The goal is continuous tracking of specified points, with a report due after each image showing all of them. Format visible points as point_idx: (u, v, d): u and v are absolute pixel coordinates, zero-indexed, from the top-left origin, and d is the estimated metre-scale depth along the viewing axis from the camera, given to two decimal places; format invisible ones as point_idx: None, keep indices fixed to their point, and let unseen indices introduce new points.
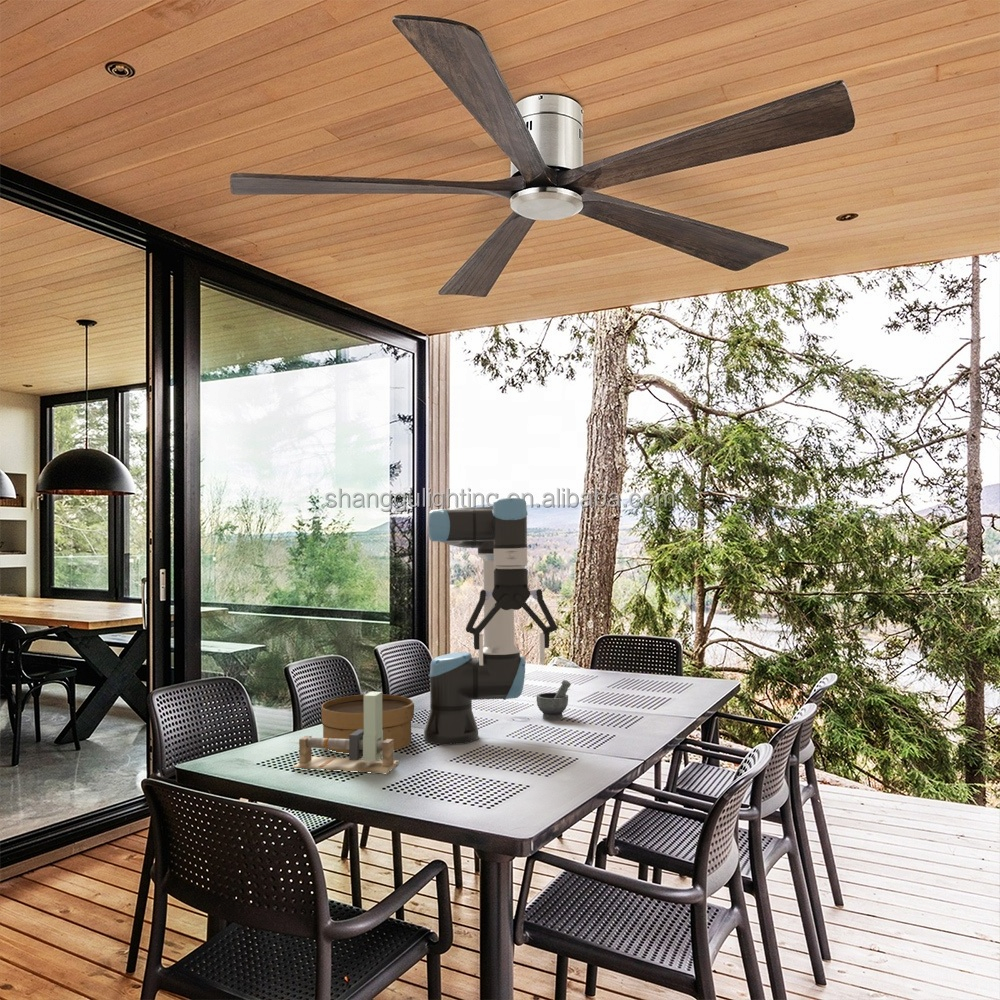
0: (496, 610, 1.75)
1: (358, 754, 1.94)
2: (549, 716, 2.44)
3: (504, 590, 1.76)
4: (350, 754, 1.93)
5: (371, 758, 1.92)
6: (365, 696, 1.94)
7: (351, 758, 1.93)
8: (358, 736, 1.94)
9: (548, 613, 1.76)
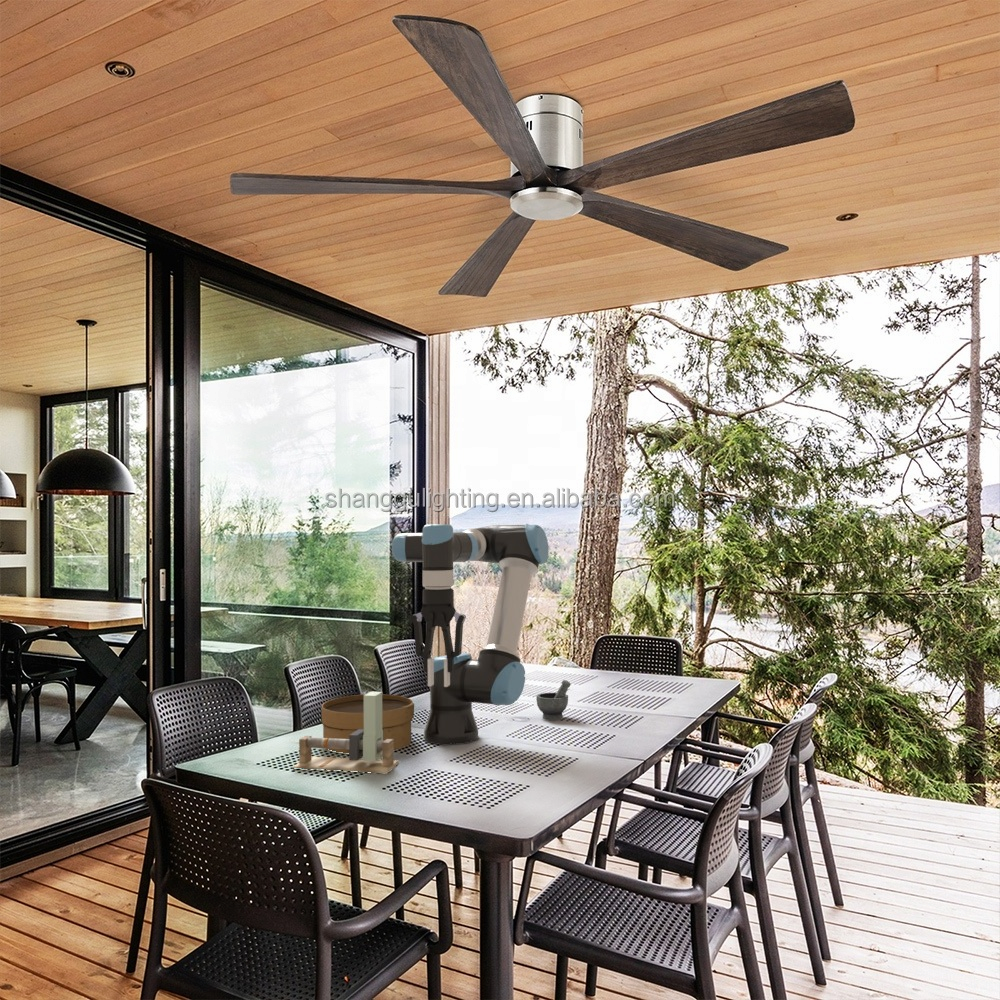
0: None
1: (358, 754, 1.94)
2: (549, 716, 2.44)
3: None
4: (350, 754, 1.93)
5: (371, 758, 1.92)
6: (365, 696, 1.94)
7: (351, 758, 1.93)
8: (358, 736, 1.94)
9: None
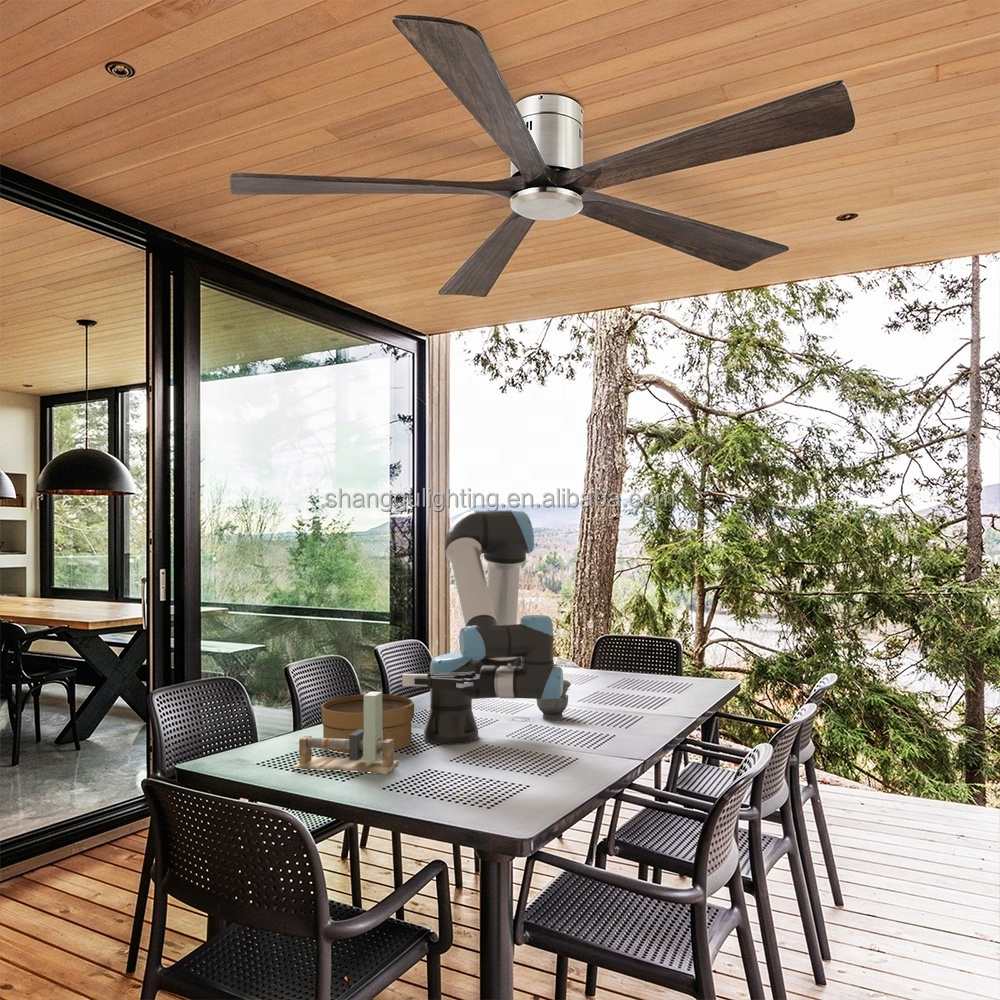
0: (458, 673, 1.93)
1: (358, 754, 1.94)
2: (549, 716, 2.44)
3: None
4: (350, 754, 1.93)
5: (371, 758, 1.92)
6: (365, 696, 1.94)
7: (351, 758, 1.93)
8: (358, 736, 1.94)
9: (442, 678, 1.89)
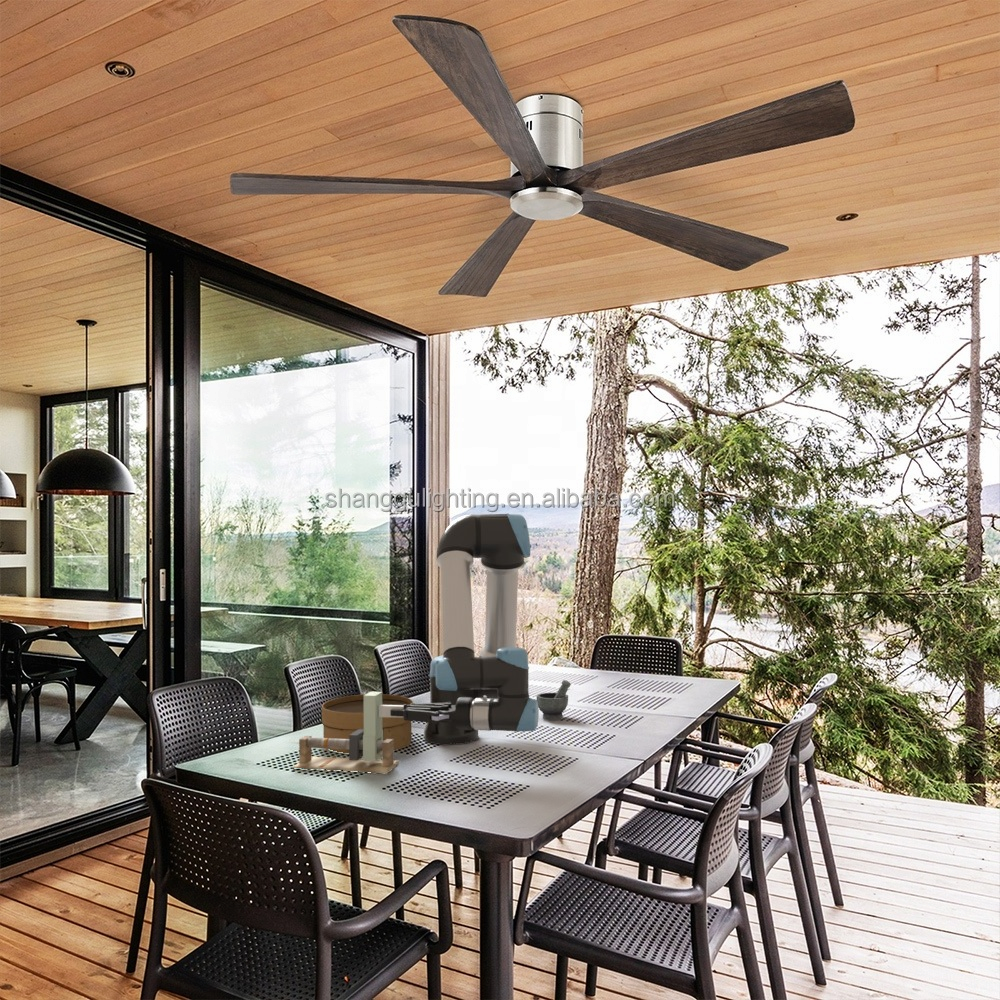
0: (434, 705, 1.94)
1: (358, 754, 1.94)
2: (549, 716, 2.44)
3: None
4: (350, 754, 1.93)
5: (371, 758, 1.92)
6: (365, 696, 1.94)
7: (351, 758, 1.93)
8: (358, 736, 1.94)
9: (418, 710, 1.89)
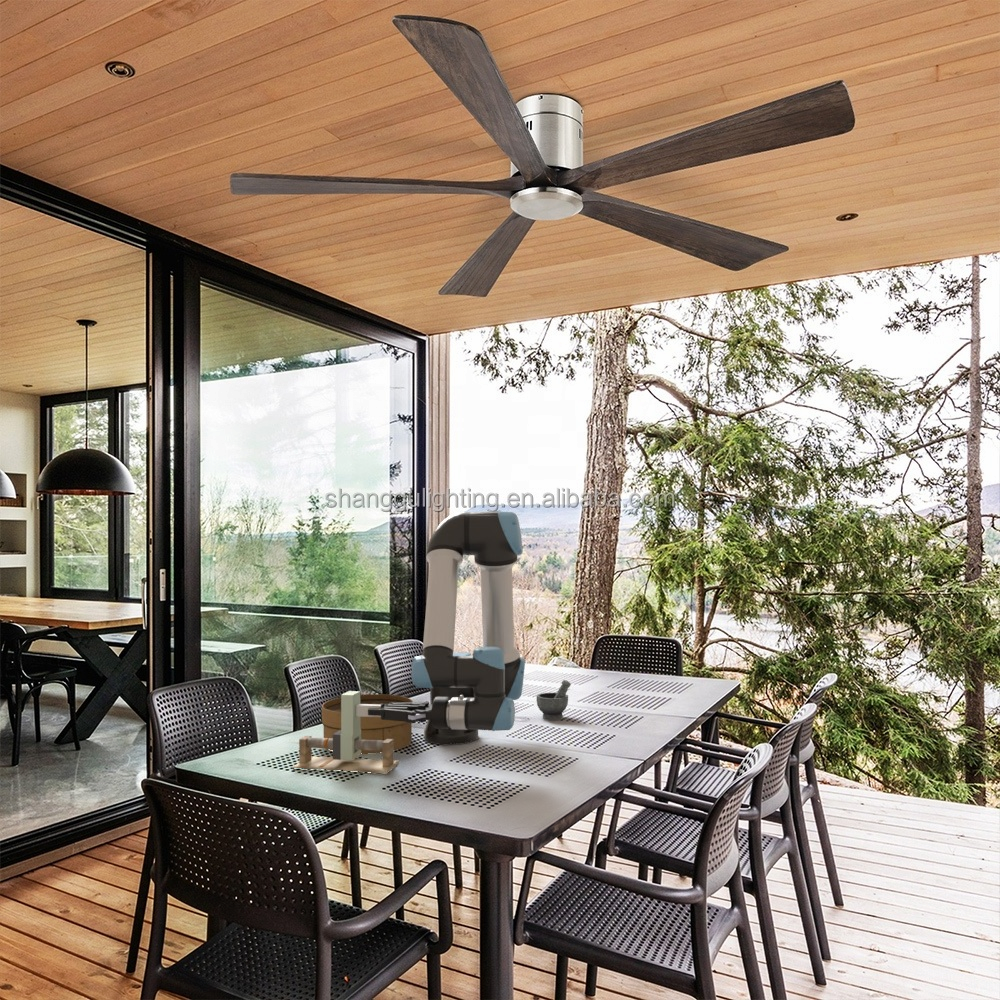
0: (411, 704, 1.95)
1: None
2: (549, 716, 2.44)
3: None
4: (333, 753, 1.94)
5: (349, 757, 1.93)
6: (343, 695, 1.95)
7: (334, 757, 1.94)
8: None
9: (395, 710, 1.90)
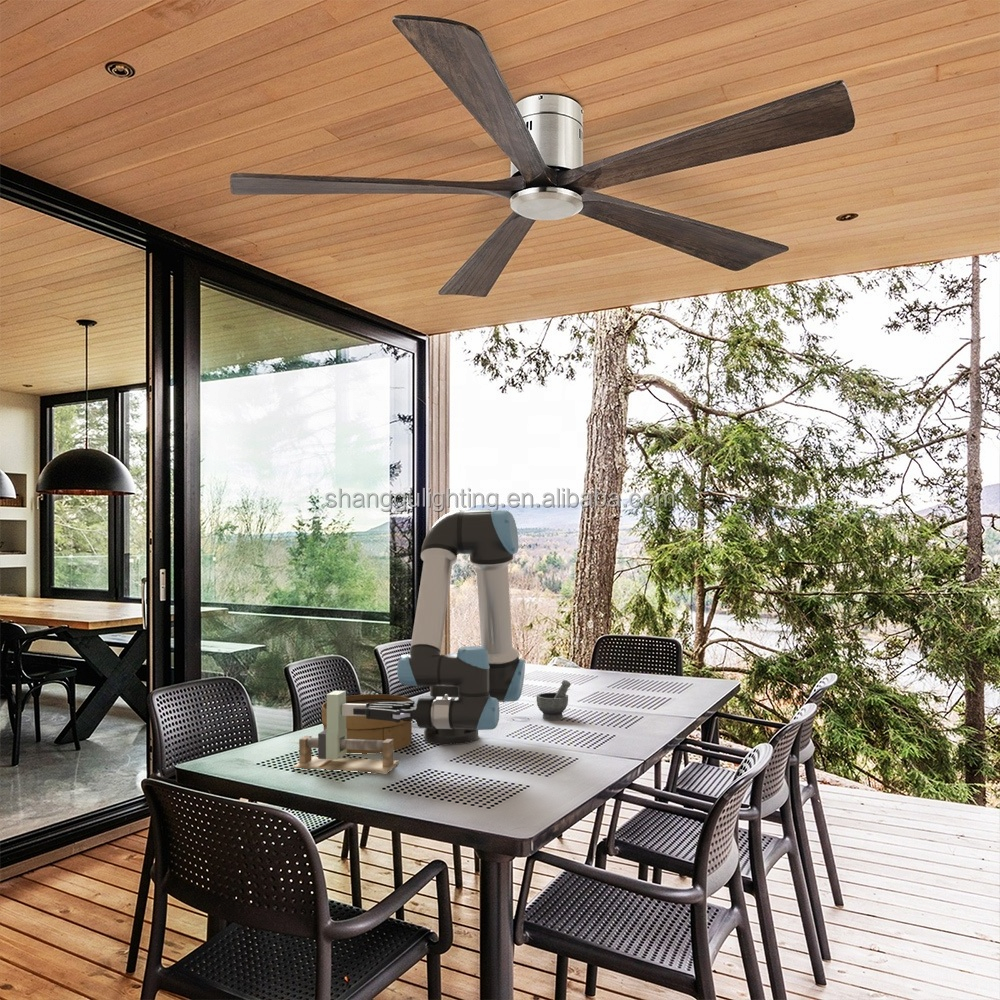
0: (396, 703, 1.96)
1: None
2: (549, 716, 2.44)
3: None
4: (319, 753, 1.95)
5: (334, 757, 1.94)
6: (328, 695, 1.96)
7: (320, 757, 1.95)
8: None
9: (380, 709, 1.91)
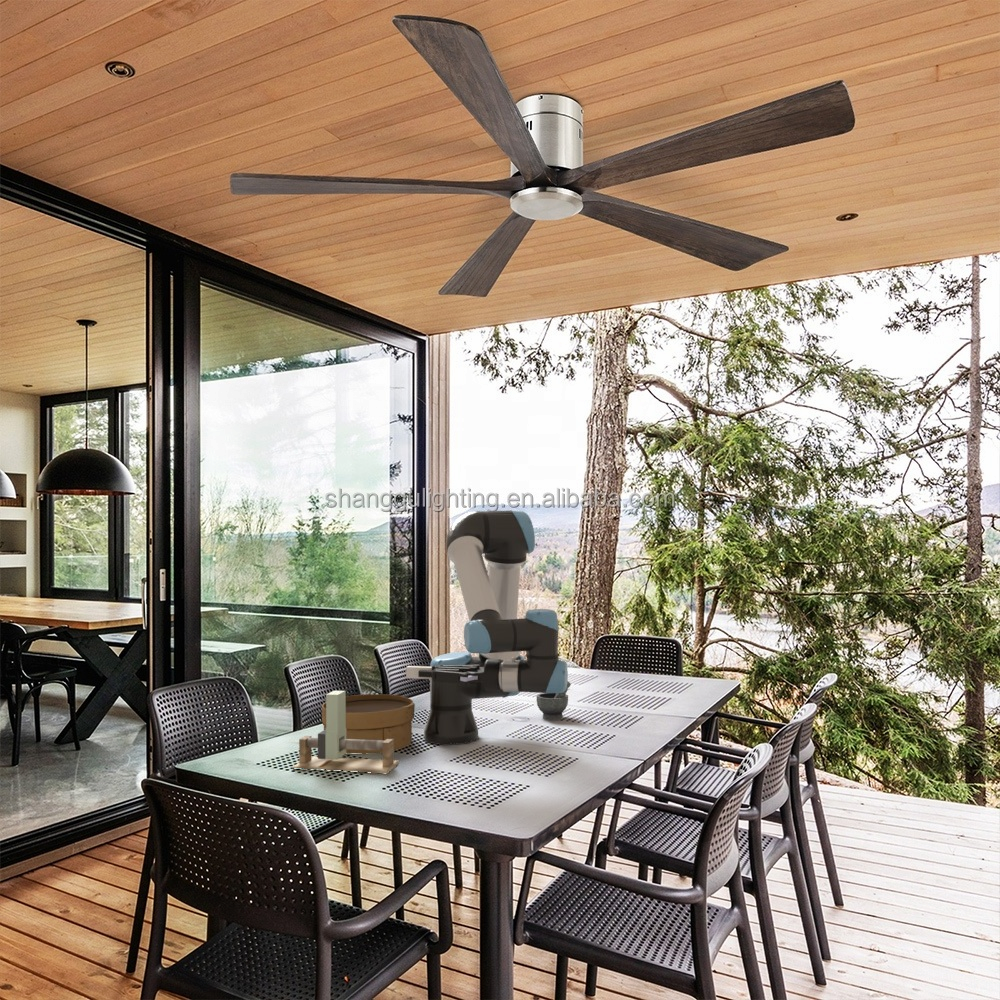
0: (462, 666, 1.93)
1: None
2: (549, 716, 2.44)
3: None
4: (318, 753, 1.95)
5: (333, 757, 1.94)
6: (328, 695, 1.96)
7: (319, 757, 1.95)
8: None
9: (447, 671, 1.88)
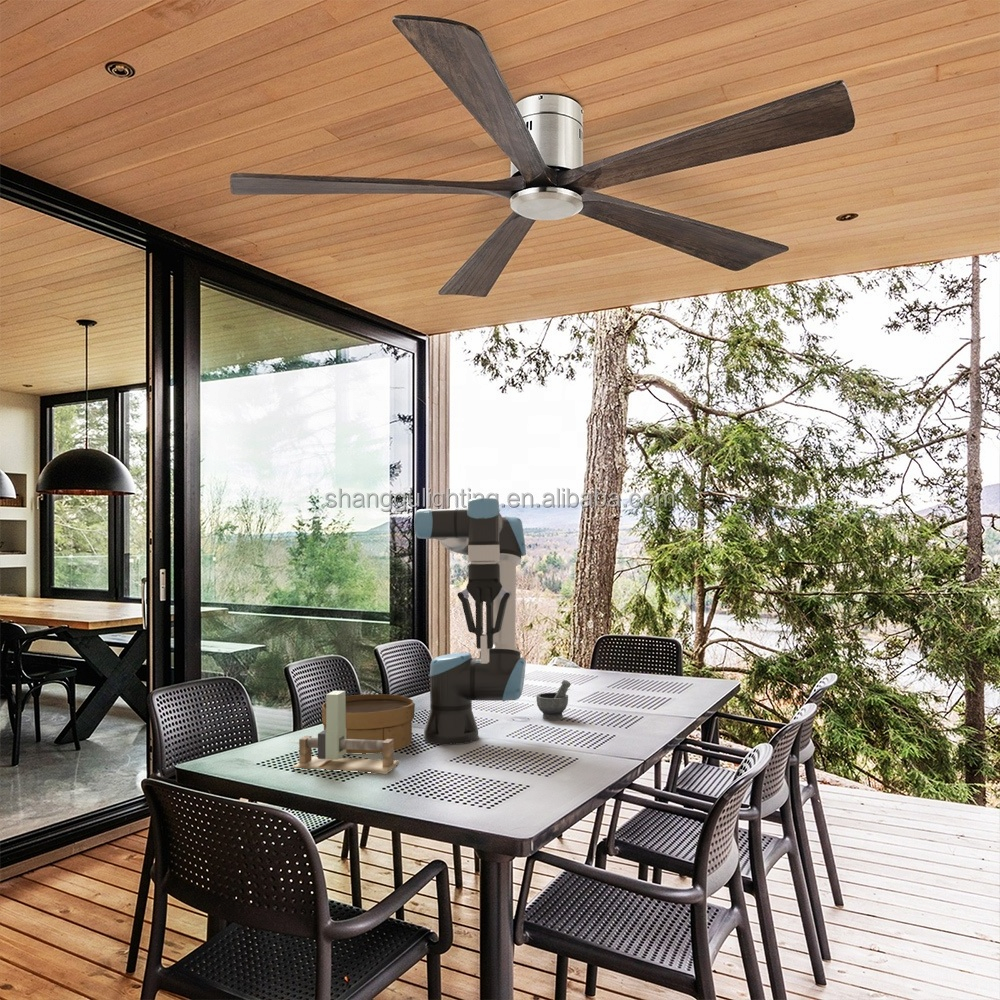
0: None
1: None
2: (549, 716, 2.44)
3: None
4: (318, 753, 1.95)
5: (333, 757, 1.94)
6: (328, 695, 1.96)
7: (319, 757, 1.95)
8: None
9: None
